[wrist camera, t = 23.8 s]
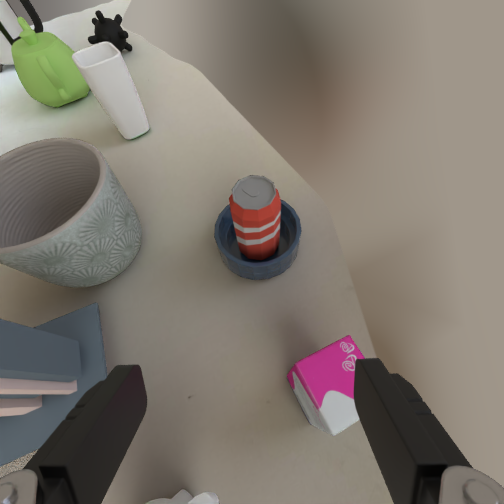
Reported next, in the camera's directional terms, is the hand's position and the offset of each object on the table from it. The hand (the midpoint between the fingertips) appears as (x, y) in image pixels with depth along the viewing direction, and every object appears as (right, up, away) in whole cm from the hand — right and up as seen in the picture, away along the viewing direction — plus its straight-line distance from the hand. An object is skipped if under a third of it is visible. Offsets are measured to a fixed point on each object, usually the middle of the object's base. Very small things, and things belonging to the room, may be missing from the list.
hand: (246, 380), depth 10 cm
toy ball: (-39, +61, +65) cm, 98 cm away
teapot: (-48, +46, +58) cm, 88 cm away
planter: (-24, +5, +33) cm, 41 cm away
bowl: (+1, +6, +31) cm, 32 cm away
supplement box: (+8, -11, +21) cm, 26 cm away
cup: (-25, +31, +48) cm, 63 cm away
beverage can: (+1, +6, +31) cm, 32 cm away
